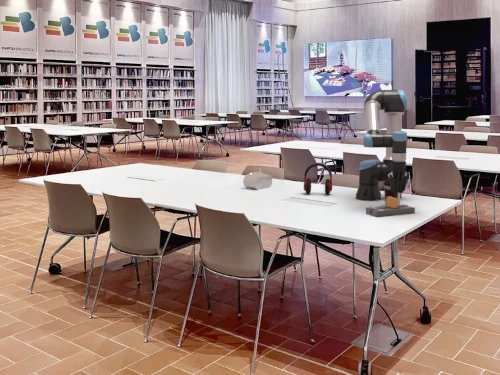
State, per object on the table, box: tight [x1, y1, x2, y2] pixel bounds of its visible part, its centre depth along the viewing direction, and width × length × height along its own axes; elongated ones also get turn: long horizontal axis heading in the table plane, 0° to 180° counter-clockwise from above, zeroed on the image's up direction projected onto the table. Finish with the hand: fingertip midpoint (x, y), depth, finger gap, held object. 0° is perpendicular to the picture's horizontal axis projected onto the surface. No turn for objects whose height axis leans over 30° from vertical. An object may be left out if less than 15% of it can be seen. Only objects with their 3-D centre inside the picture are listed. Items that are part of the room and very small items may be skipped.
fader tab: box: [385, 196, 398, 208], centre depth 323 cm, size 6×3×7 cm, turn 22°
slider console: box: [365, 203, 416, 218], centre depth 323 cm, size 10×24×3 cm, turn 112°
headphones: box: [303, 162, 333, 196], centre depth 379 cm, size 18×10×20 cm, turn 79°
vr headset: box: [242, 166, 273, 191], centre depth 405 cm, size 18×11×14 cm, turn 138°
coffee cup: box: [383, 179, 394, 206], centre depth 342 cm, size 10×10×15 cm
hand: (397, 204), depth 324 cm, fingers closed
